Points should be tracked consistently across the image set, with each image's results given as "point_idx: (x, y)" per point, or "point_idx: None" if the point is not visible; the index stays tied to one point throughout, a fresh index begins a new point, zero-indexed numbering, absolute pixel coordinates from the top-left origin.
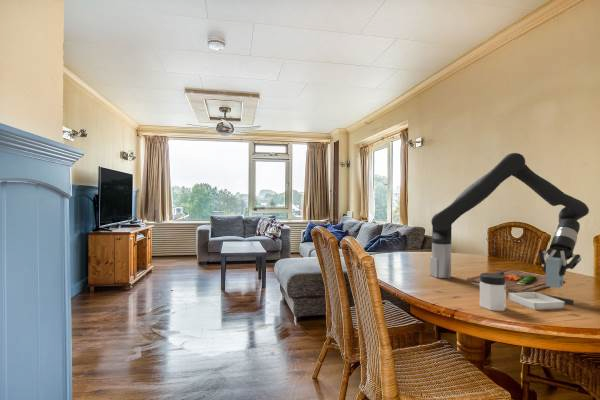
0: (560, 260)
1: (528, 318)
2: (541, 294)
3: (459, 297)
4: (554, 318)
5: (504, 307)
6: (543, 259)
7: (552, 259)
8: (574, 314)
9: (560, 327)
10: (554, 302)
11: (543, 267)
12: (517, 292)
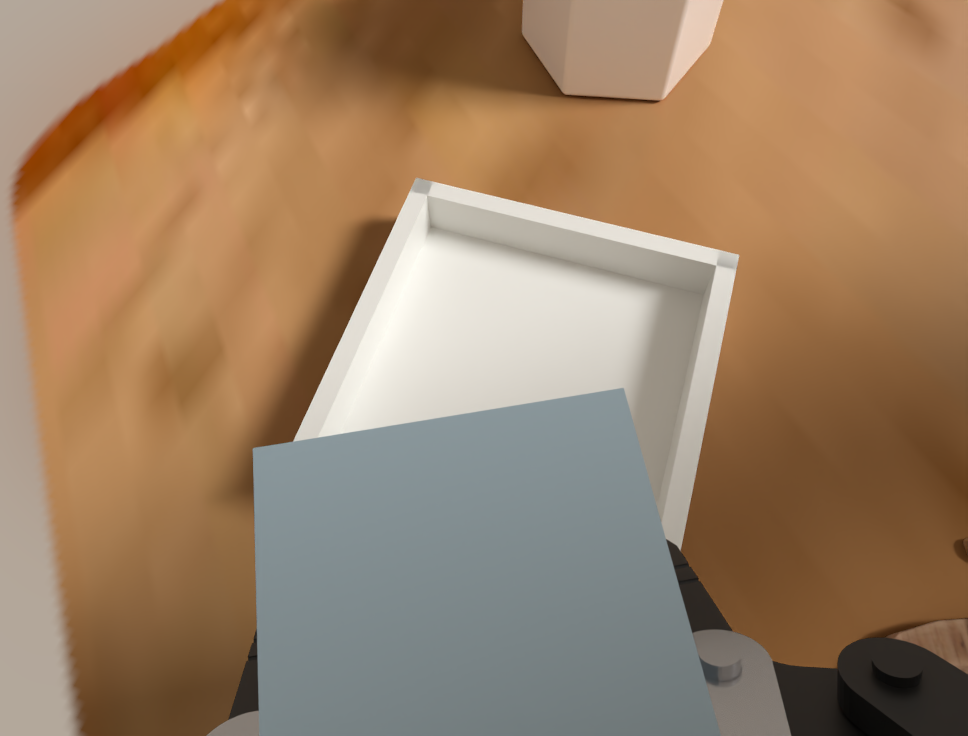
0: (266, 587)
1: (356, 46)
2: None
3: (892, 27)
4: (252, 172)
5: (532, 33)
6: (868, 703)
7: (444, 424)
8: (182, 389)
9: (169, 63)
10: (333, 355)
11: (687, 570)
12: (901, 632)
